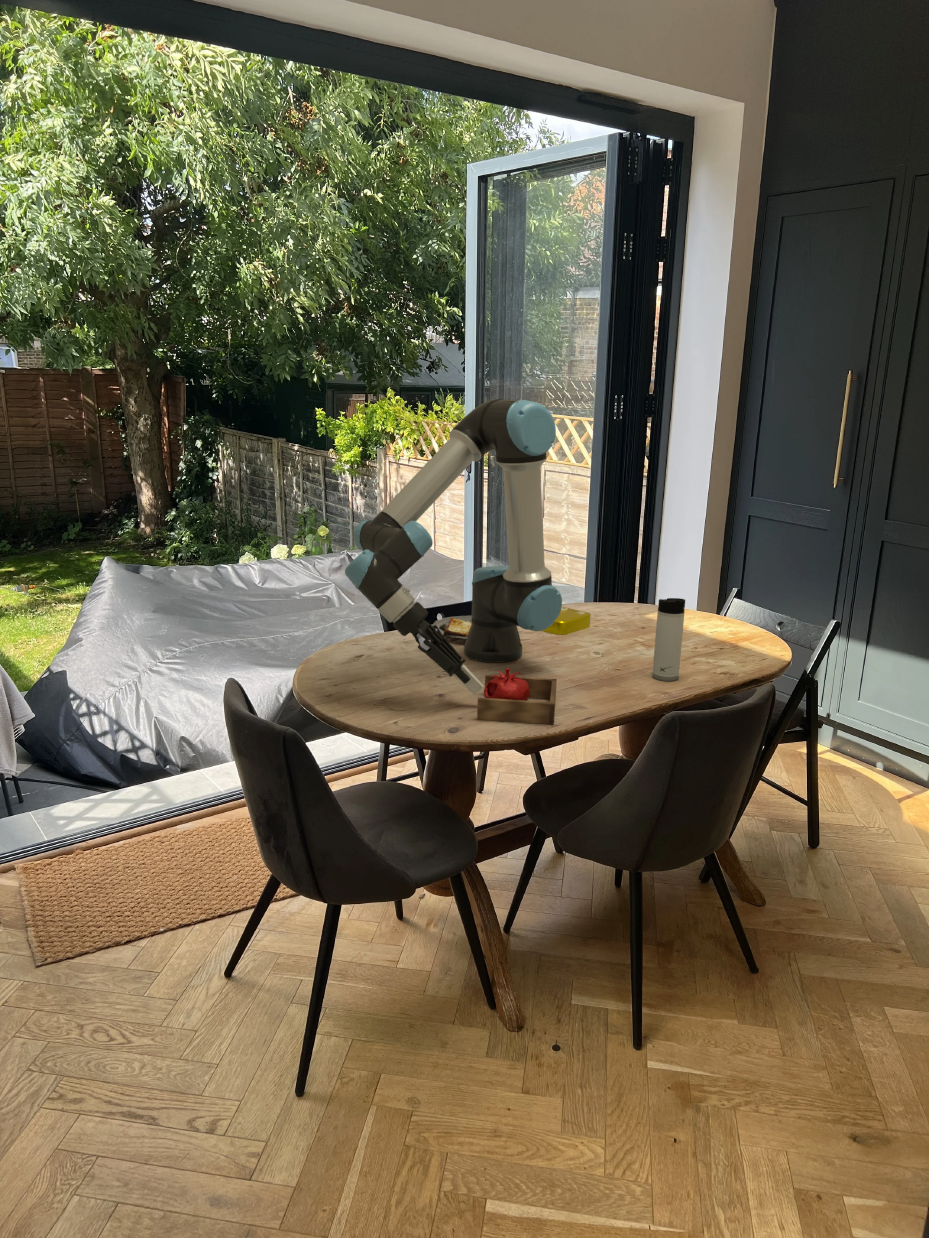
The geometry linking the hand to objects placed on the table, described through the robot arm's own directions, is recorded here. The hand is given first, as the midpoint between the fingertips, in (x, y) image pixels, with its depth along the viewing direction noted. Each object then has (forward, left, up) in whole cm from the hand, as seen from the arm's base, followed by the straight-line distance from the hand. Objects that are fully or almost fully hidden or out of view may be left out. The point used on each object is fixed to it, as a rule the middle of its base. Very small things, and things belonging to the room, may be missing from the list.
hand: (478, 690), depth 192 cm
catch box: (+6, +6, -4) cm, 9 cm away
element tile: (-38, +60, -4) cm, 71 cm away
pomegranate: (+4, +4, -4) cm, 7 cm away
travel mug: (+11, +50, -4) cm, 51 cm away
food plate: (-46, +35, -4) cm, 58 cm away
